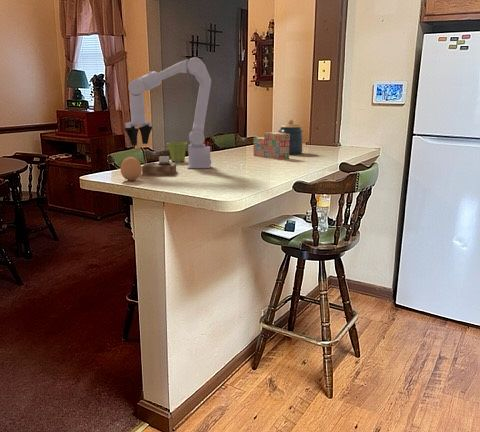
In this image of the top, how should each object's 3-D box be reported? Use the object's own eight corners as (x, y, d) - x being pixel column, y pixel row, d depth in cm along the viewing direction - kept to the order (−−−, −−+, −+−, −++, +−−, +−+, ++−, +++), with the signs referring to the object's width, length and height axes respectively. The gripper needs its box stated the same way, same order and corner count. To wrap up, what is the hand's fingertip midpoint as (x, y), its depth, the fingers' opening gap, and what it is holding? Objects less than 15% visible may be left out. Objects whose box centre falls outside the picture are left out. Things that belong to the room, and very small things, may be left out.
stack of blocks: (253, 155, 242) (253, 131, 239) (262, 155, 245) (262, 131, 242) (279, 160, 225) (279, 133, 222) (289, 159, 228) (290, 133, 225)
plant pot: (163, 162, 217) (162, 143, 215) (174, 160, 225) (173, 141, 223) (181, 163, 213) (181, 144, 211) (191, 161, 222) (190, 142, 220)
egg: (123, 183, 164) (121, 158, 162) (119, 179, 170) (118, 156, 168) (144, 181, 167) (143, 157, 165) (139, 178, 173) (138, 155, 171)
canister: (303, 154, 244) (304, 120, 240) (278, 154, 245) (279, 120, 240) (301, 152, 257) (301, 119, 253) (277, 152, 257) (277, 119, 253)
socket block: (176, 171, 189) (175, 162, 189) (174, 175, 180) (173, 165, 179) (146, 171, 189) (145, 162, 188) (142, 175, 179) (141, 166, 178)
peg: (170, 164, 186) (169, 155, 185) (169, 166, 182) (168, 157, 181) (160, 164, 186) (159, 156, 185) (158, 166, 182) (158, 157, 181)
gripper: (140, 110, 200) (142, 142, 203) (118, 111, 187) (120, 145, 190) (154, 110, 197) (155, 143, 200) (132, 111, 184) (135, 146, 188)
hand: (139, 144), depth 195 cm, fingers open, 7 cm apart
